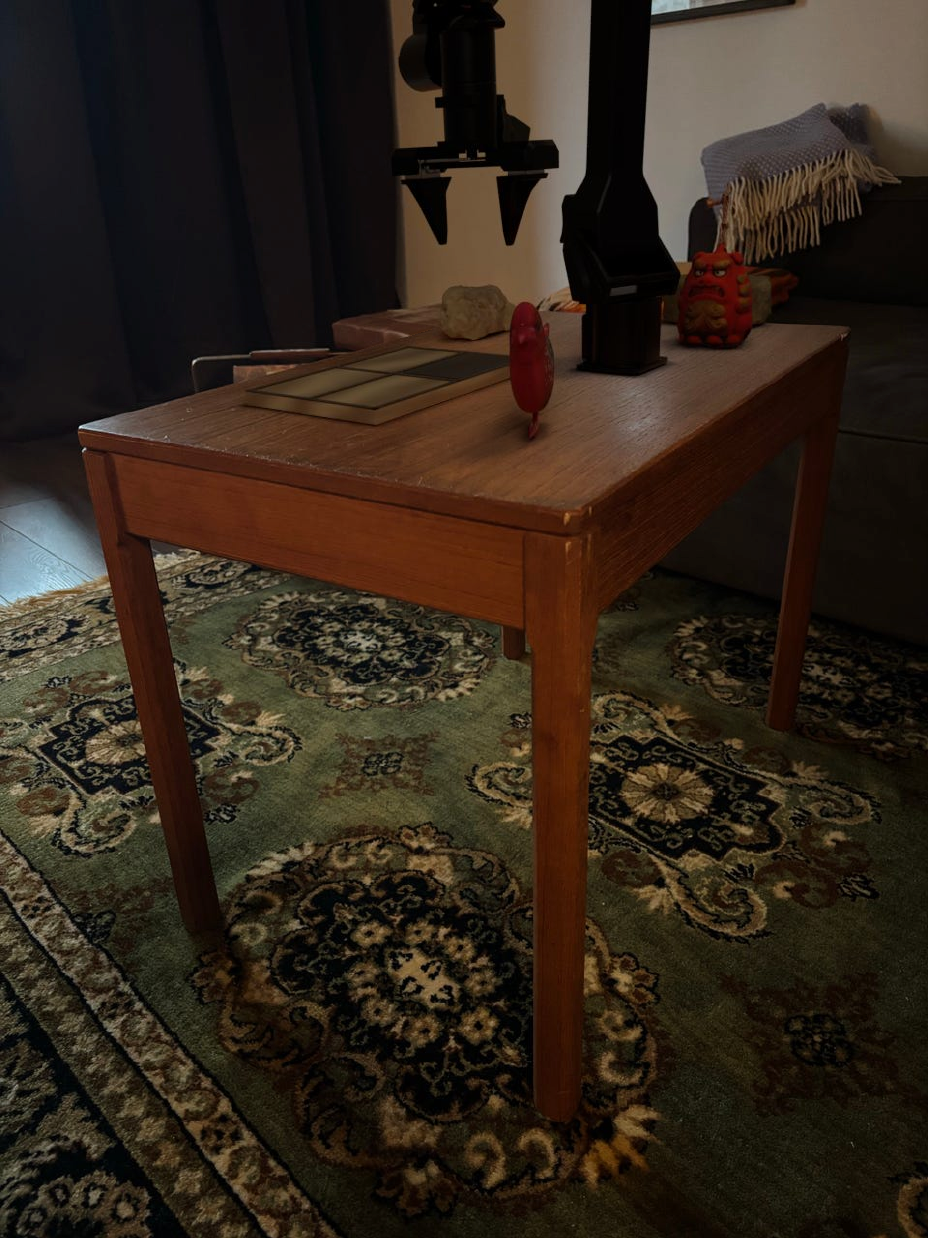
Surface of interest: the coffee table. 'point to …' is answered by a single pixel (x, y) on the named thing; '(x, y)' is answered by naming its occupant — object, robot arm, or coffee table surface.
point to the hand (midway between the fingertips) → (475, 244)
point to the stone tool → (474, 311)
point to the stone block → (759, 305)
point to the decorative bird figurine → (530, 362)
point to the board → (384, 384)
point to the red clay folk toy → (716, 295)
